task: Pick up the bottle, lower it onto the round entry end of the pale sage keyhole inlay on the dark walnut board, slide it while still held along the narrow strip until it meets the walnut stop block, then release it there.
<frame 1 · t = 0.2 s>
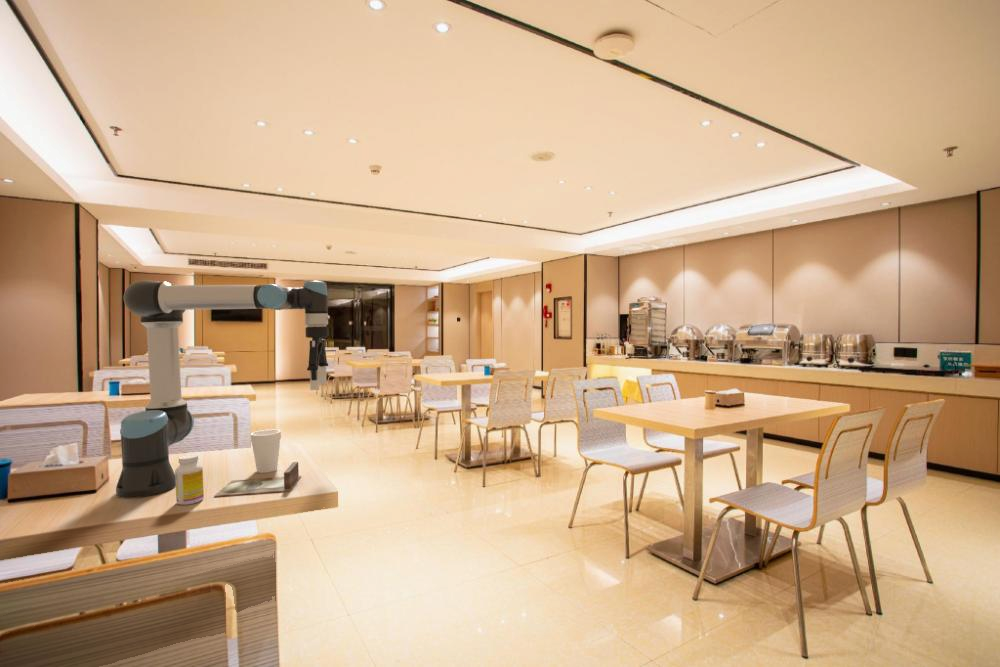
hand: (318, 387, 172), 28 cm above the table, fingers open, 13 cm apart
keyhole board: (260, 486, 152), on the table
foam cup: (267, 470, 170), on the table
supplement bottle: (190, 502, 141), on the table
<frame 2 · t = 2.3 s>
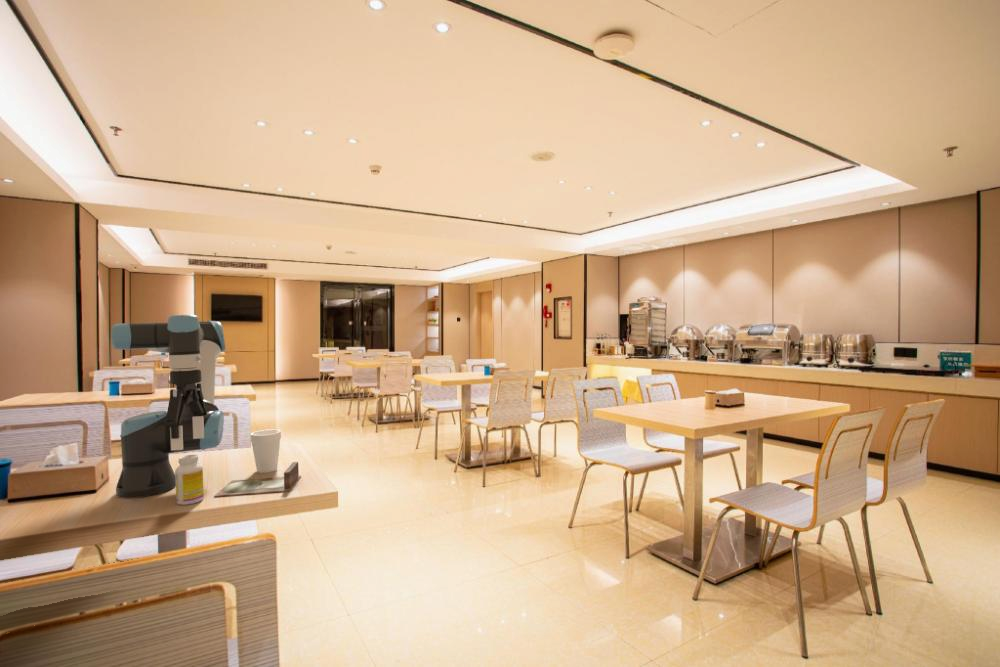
hand: (188, 443, 140), 16 cm above the table, fingers open, 13 cm apart
nothing on the table moved.
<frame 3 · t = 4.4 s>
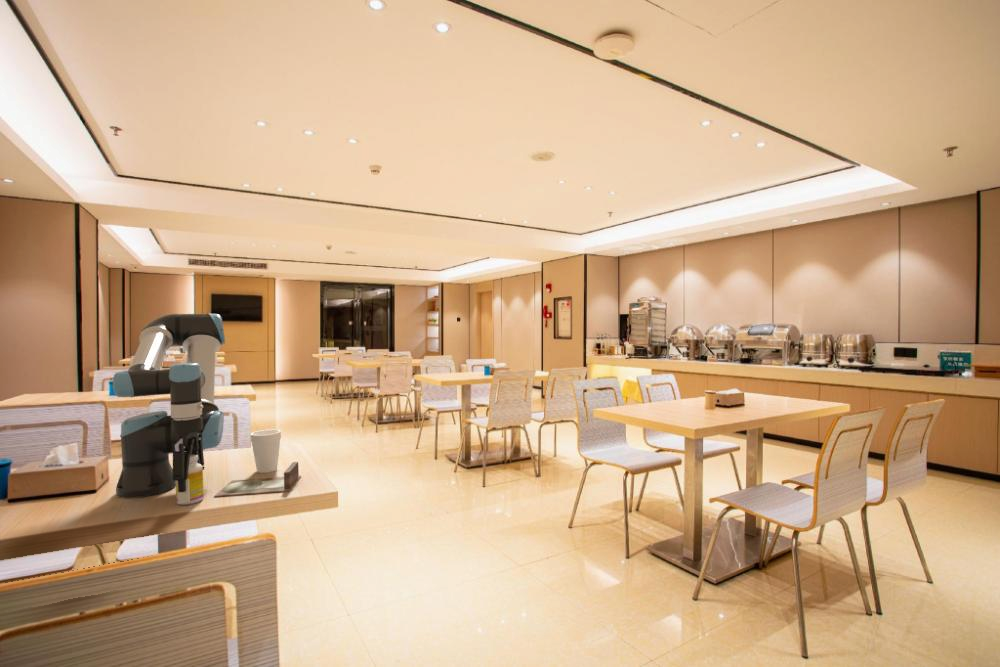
hand: (190, 497, 141), 1 cm above the table, fingers closed on supplement bottle, 7 cm apart
supplement bottle: (190, 502, 141), on the table, touching gripper
everything else where it was.
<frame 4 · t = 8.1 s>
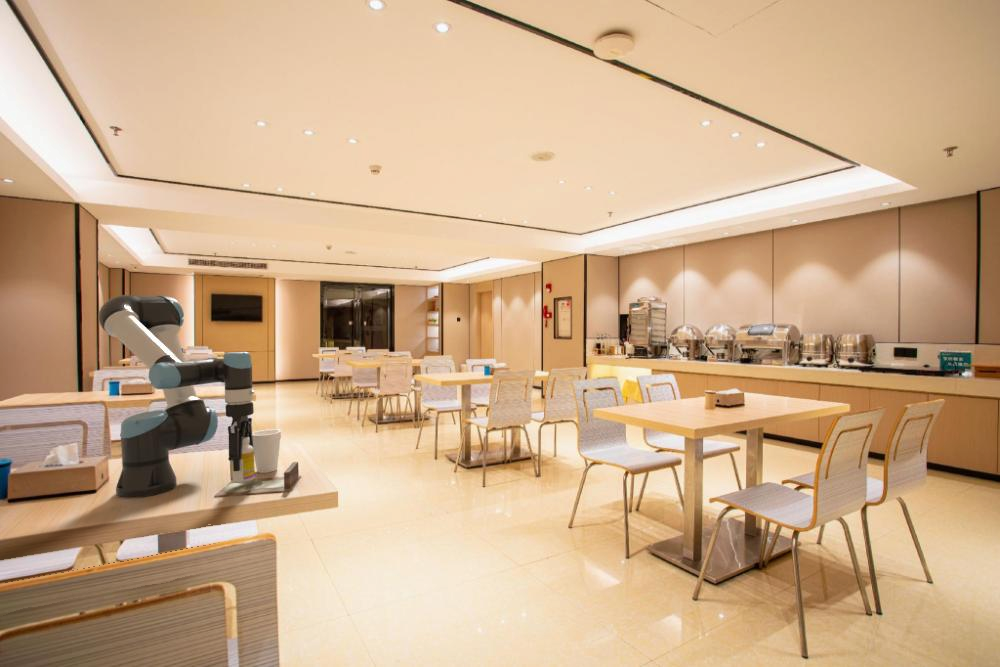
hand: (242, 477, 151), 3 cm above the table, fingers closed on supplement bottle, 7 cm apart
supplement bottle: (242, 481, 151), point 2 cm above the table, touching gripper
everything else where it was.
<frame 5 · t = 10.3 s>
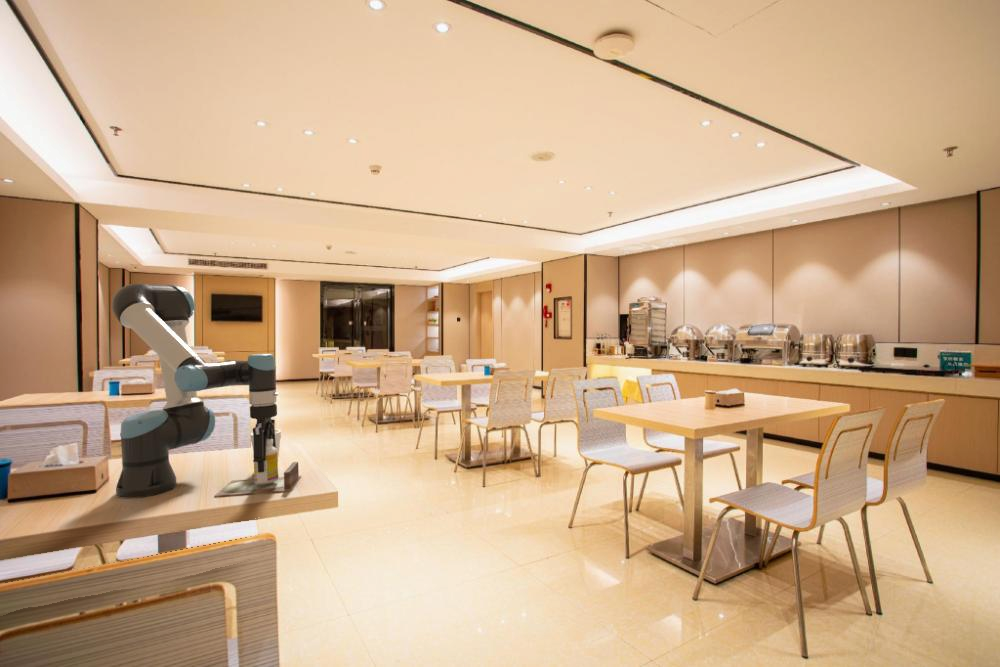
hand: (266, 478, 152), 2 cm above the table, fingers closed on supplement bottle, 7 cm apart
supplement bottle: (266, 482, 152), point 1 cm above the table, touching gripper
everything else where it was.
when the fingers open (2 cm above the table, at t = 12.0 s): supplement bottle stays where it is, resting on keyhole board.
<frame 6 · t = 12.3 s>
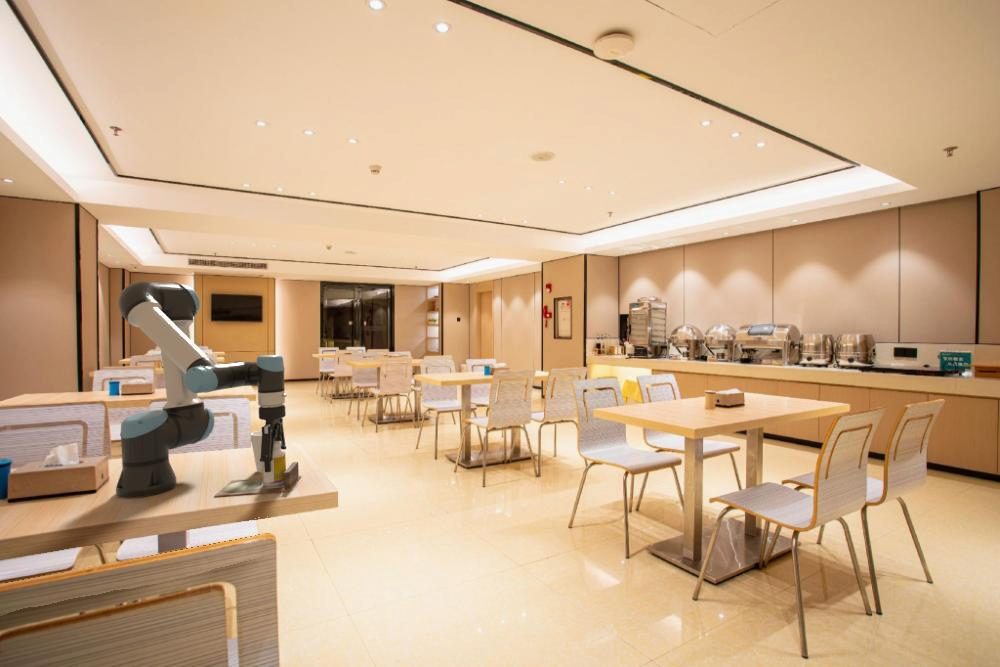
hand: (274, 476, 153), 3 cm above the table, fingers open, 10 cm apart
supplement bottle: (274, 484, 153), resting on keyhole board
everything else where it was.
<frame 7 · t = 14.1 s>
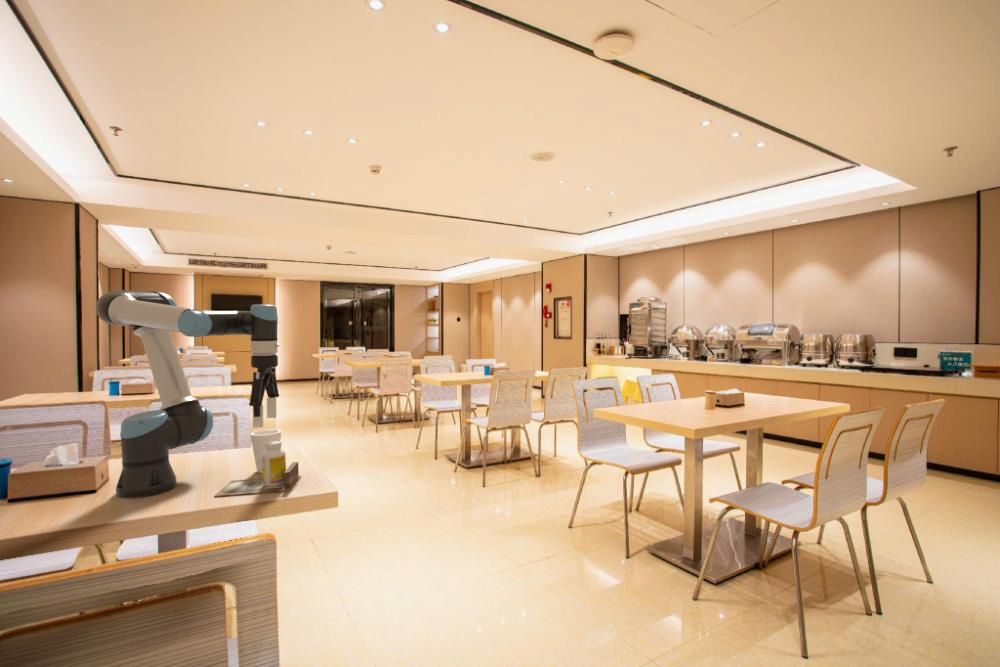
hand: (265, 422, 154), 19 cm above the table, fingers open, 13 cm apart
nothing on the table moved.
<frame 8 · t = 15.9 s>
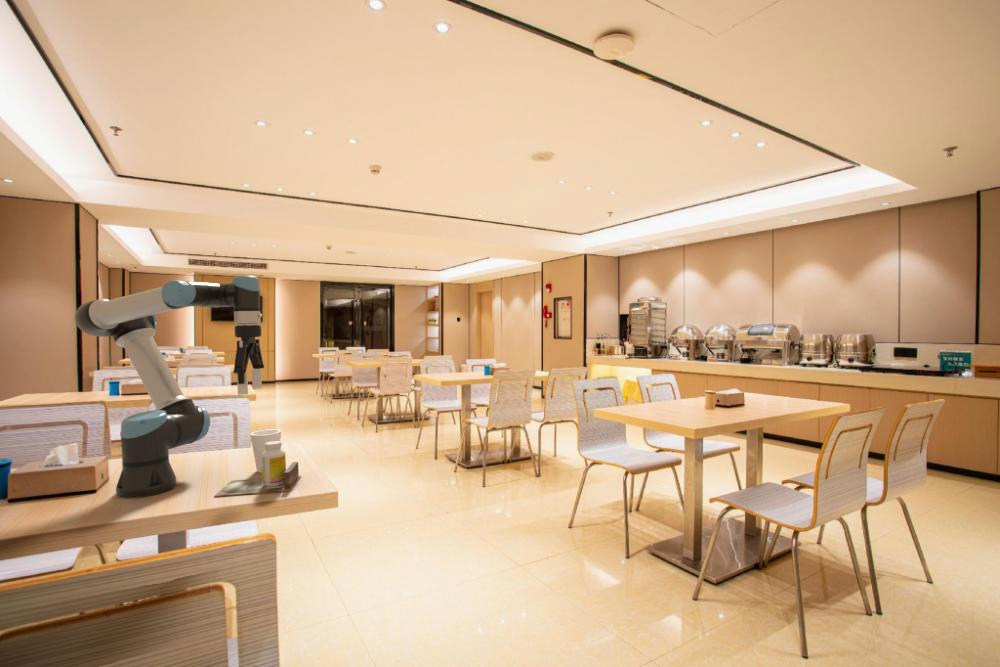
hand: (250, 391, 158), 29 cm above the table, fingers open, 13 cm apart
nothing on the table moved.
at the end: supplement bottle 0.6 cm from the target spot on the keyhole board, point 0.3 cm above the keyhole board's base; supplement bottle tilted 0°; the gripper is holding nothing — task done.
